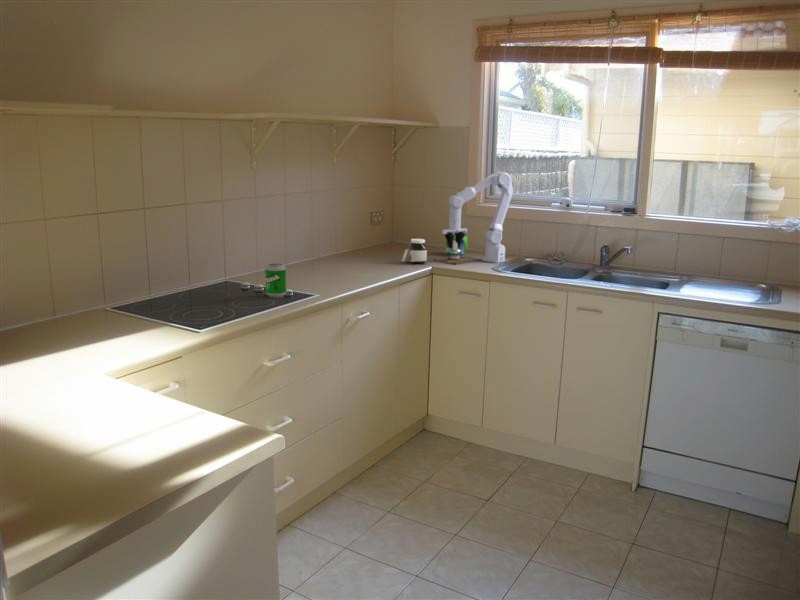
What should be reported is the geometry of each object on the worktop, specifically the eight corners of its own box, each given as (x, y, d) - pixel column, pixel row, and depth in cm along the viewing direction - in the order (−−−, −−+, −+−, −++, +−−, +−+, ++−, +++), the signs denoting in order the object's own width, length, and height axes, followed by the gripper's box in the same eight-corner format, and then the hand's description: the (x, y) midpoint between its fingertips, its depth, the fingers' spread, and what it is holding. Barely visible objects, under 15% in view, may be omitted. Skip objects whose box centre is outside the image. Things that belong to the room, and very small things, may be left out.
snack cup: (473, 256, 359) (474, 237, 357) (456, 258, 354) (456, 238, 352) (457, 252, 372) (457, 233, 370) (440, 253, 367) (440, 234, 365)
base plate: (473, 261, 345) (473, 254, 344) (455, 264, 335) (456, 257, 334) (451, 257, 354) (451, 251, 353) (433, 261, 344) (434, 254, 343)
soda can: (277, 292, 269) (276, 262, 266) (290, 295, 264) (289, 264, 261) (261, 295, 263) (261, 264, 260) (274, 299, 258) (274, 267, 256)
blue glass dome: (444, 252, 347) (445, 240, 346) (460, 252, 348) (460, 240, 347) (447, 255, 339) (447, 243, 337) (463, 255, 339) (464, 243, 338)
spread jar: (428, 264, 334) (429, 240, 332) (407, 265, 330) (407, 241, 328) (418, 260, 345) (419, 237, 342) (397, 261, 341) (398, 238, 338)
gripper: (448, 221, 333) (447, 249, 336) (471, 220, 341) (470, 247, 344) (439, 220, 338) (438, 247, 341) (462, 218, 346) (461, 245, 349)
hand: (454, 247), depth 343 cm, fingers closed on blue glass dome, 4 cm apart
